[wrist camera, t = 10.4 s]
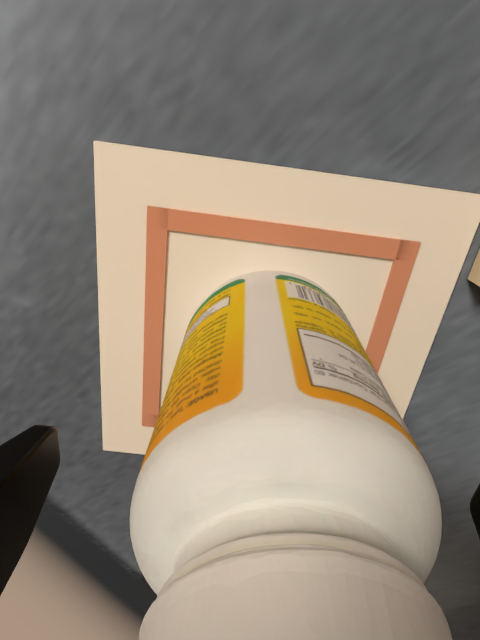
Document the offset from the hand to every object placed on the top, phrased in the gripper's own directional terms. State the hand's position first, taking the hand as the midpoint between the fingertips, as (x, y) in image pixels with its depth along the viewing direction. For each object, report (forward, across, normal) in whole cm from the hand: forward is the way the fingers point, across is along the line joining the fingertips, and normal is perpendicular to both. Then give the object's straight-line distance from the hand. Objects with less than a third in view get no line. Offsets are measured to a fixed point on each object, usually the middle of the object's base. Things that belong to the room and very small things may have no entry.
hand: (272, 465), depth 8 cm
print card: (+6, 0, 0) cm, 6 cm away
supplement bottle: (+6, 0, 0) cm, 6 cm away
